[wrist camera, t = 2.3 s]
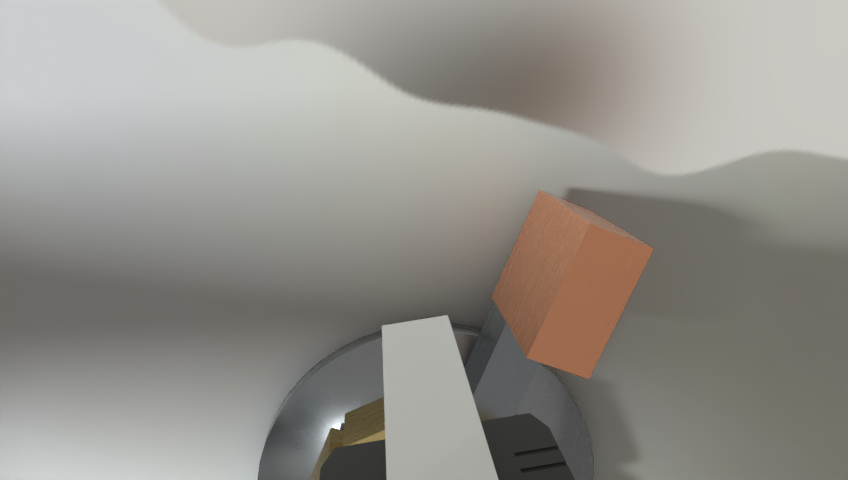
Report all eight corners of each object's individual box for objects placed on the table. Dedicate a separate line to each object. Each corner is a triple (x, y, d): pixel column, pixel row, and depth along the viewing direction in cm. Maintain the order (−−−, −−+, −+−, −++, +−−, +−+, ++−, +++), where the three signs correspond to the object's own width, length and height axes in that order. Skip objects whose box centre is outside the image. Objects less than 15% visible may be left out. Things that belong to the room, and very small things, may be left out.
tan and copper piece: (490, 613, 31) (518, 737, 25) (277, 558, 29) (255, 678, 23) (677, 245, 27) (763, 291, 21) (443, 151, 25) (466, 174, 19)
